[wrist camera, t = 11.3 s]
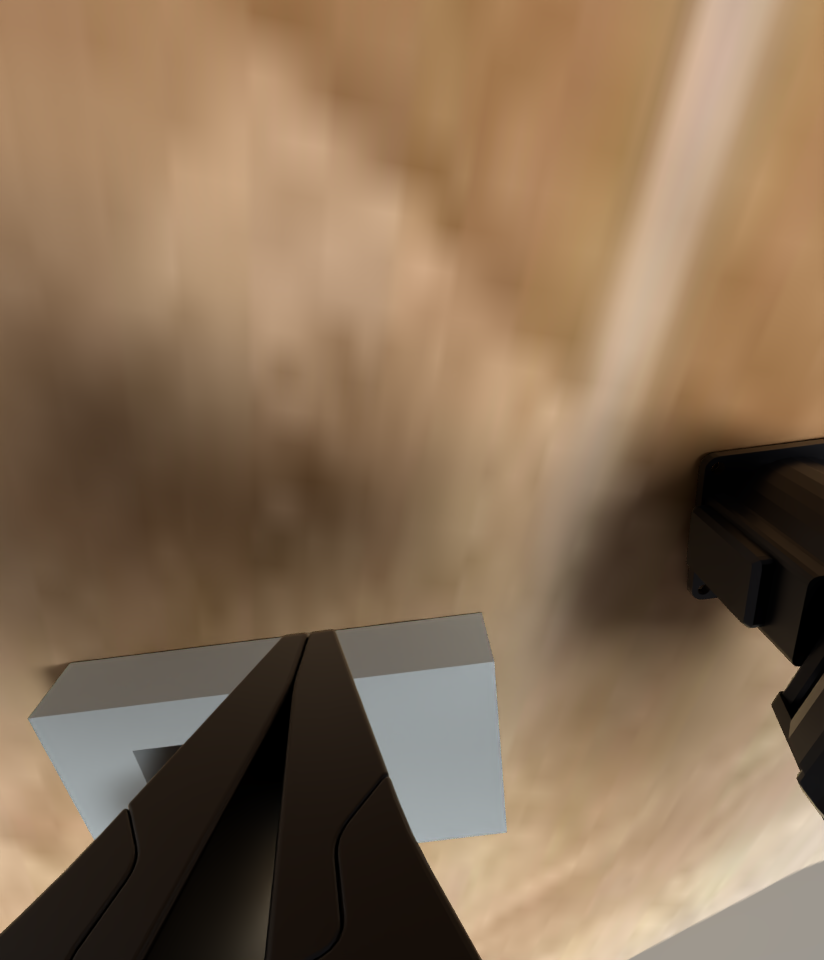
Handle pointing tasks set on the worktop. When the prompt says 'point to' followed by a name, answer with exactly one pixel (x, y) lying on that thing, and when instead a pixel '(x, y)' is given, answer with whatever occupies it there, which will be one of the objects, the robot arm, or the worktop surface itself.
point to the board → (220, 668)
